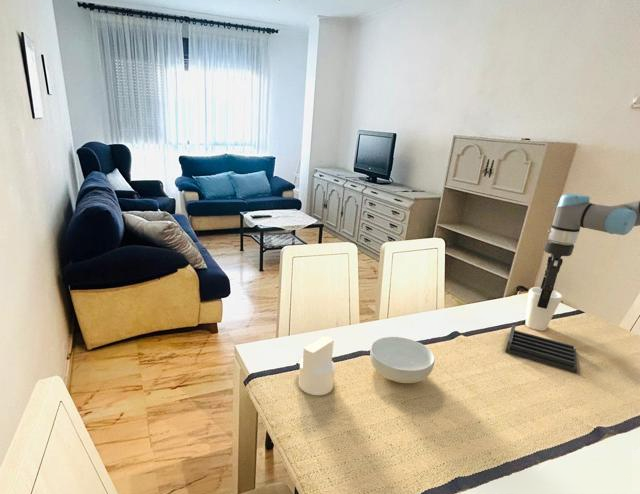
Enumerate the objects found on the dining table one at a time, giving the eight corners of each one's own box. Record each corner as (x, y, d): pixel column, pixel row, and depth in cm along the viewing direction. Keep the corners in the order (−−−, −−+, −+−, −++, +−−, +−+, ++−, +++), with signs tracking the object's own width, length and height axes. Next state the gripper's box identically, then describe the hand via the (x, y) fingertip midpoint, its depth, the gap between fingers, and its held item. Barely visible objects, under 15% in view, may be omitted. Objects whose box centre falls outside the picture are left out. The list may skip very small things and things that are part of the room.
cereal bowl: (381, 350, 117) (384, 330, 115) (437, 370, 108) (442, 348, 106) (357, 377, 104) (360, 354, 101) (419, 402, 95) (424, 378, 93)
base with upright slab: (319, 400, 94) (322, 358, 90) (291, 384, 100) (293, 343, 96) (339, 384, 101) (344, 344, 96) (312, 369, 106) (315, 331, 102)
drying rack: (574, 352, 120) (578, 341, 119) (576, 373, 110) (580, 361, 108) (509, 334, 130) (512, 324, 129) (505, 352, 119) (508, 341, 118)
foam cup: (524, 317, 143) (534, 285, 138) (554, 326, 136) (564, 293, 132) (517, 325, 136) (526, 291, 132) (547, 335, 130) (558, 300, 126)
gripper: (548, 232, 137) (531, 287, 145) (546, 247, 118) (527, 310, 125) (573, 236, 133) (555, 292, 141) (576, 253, 114) (555, 316, 121)
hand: (542, 300), depth 133 cm, fingers open, 13 cm apart
